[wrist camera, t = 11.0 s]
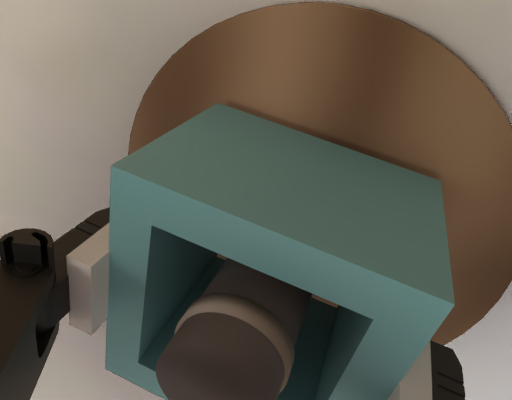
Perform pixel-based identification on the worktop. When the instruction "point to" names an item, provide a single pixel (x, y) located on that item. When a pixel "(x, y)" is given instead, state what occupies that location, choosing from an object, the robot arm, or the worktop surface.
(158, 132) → the post stand
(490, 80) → the worktop surface
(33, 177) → the worktop surface
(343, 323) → the collar
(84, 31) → the worktop surface
